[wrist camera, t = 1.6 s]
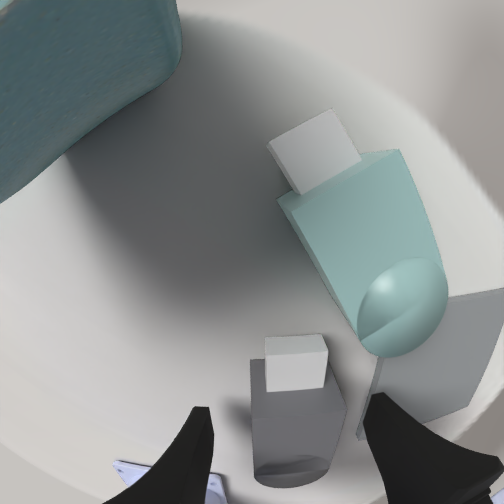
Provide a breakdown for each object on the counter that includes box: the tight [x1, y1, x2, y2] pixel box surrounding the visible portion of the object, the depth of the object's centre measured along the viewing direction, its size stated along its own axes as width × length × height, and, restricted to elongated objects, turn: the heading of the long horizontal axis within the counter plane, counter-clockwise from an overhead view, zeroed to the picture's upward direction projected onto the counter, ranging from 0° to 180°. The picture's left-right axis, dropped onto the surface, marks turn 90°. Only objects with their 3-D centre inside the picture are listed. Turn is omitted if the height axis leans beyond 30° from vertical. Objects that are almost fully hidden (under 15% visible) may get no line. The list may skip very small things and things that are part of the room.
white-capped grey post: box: [250, 334, 347, 488], centre depth 11 cm, size 8×3×4 cm, turn 1°
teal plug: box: [266, 108, 448, 358], centre depth 9 cm, size 8×3×4 cm, turn 31°
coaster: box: [356, 288, 504, 441], centre depth 12 cm, size 9×9×1 cm
